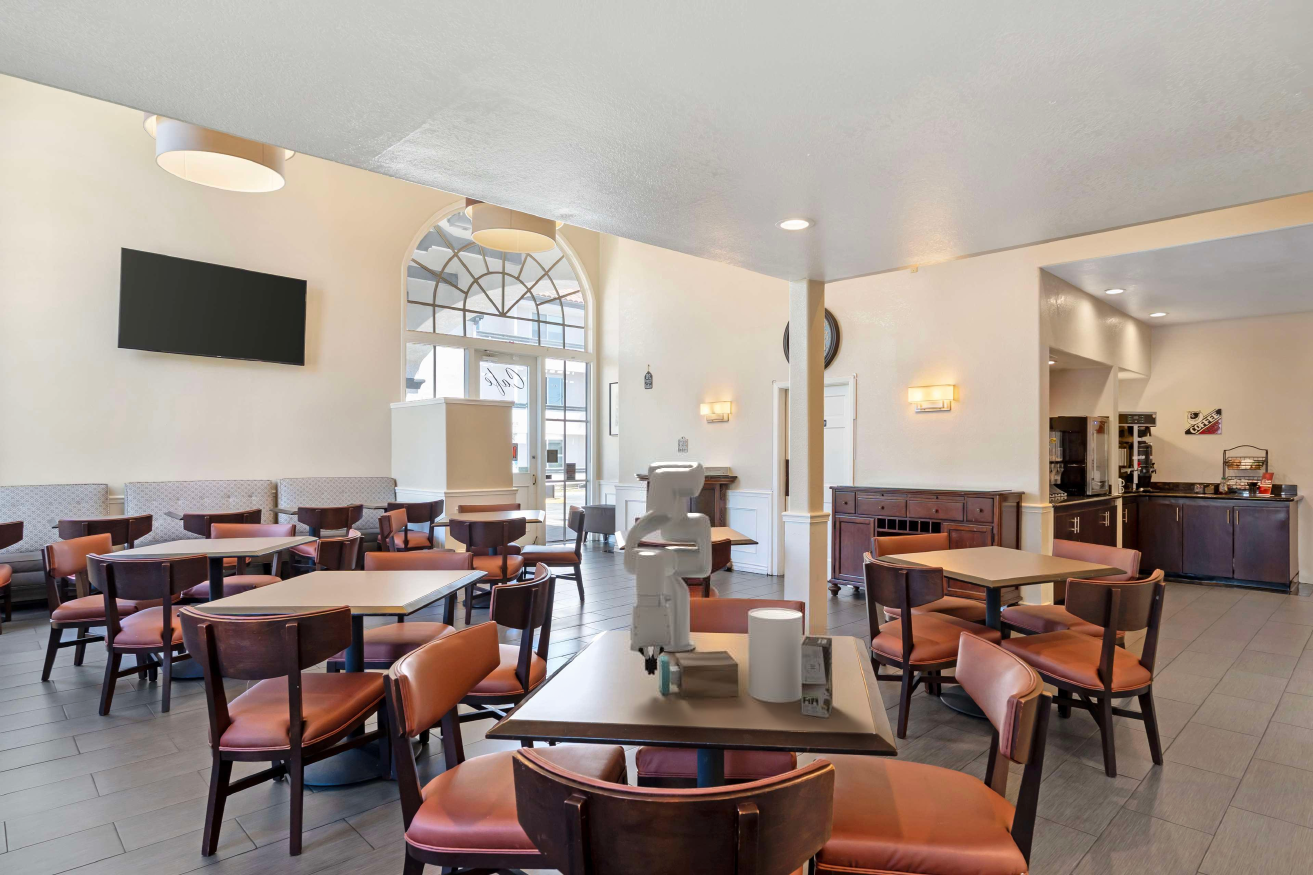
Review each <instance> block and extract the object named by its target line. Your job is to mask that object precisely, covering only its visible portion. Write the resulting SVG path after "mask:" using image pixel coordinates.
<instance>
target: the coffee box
mask: <svg viewBox="0 0 1313 875" xmlns="http://www.w3.org/2000/svg"><path fill="white" fill-rule="evenodd" d="M803 639H804V640H803V643H802V644H801V680H802V698H801V715H805V716H813V717H819V718H827V719H828V718H829V717H830V714H831V711H832V709H833V705H834V704H833V702H834V701H833V700H834V698H833V697H834V695H833V694H834V692H833V638H832V637H823V636H822V637H821V636H807V635H806V636H805V637H804V638H803Z"/></svg>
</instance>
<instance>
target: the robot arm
mask: <svg viewBox="0 0 1313 875" xmlns="http://www.w3.org/2000/svg"><path fill="white" fill-rule="evenodd" d="M705 474H706V472H705V468H704V466H703V464H701V463H700V462H697V461H661V462H654V463H651V464H650V465H649V467H648V468H647V476H648V480H649V485H648V494H647V502H646V511H645V514H644V515H642V516H641V517H640V518H639V519H638V520H637V521H636V522H635V523H634V524H633V525H632V527H631V528H630V530H629V531H628V533H627V535H626V539H625V545H624V546H625V547H624V552H623V568H624V571H625V572H626V573H627V574H628V575H631V576H635V604H633V606H632V609H631V610H632V611H631V617H630V618H631V619H630V646H629V650H630V651H633V652H637V653H639V654H640V655H642V657H644V671H645V672H646V673H647V674H648V676H651V675H652V676H654V675H655V676H656V671H658V659H659V656H660V655H661V654H662V653H663V652H671V653H672V652H673V653H683V652H687V651H691V650H693V649H694V648H695V644H696V643H695V642H694V641H693V640H691V637H690V635H691V634H690V633H691V629H690V627H691V626H690V620H691V619H690V618H691V617H690V616H691V615H690V606H691V604H690V601H691V600H690V598H691V597H690V595H691V594H690V590H689V587H688V585H687V584H686V582H685V581H684V579H683V578H706V577H707V578H708V577H709V576H710V575H711V572H712V567H713V566H712V565H713V556H712V552H713V550H712V527H711V521H710V518H709V517H708V515H706V514H705V513H702V512H701V513H699V512H695V513H694V512H693V513H692V512H688V509H687V498H695V497H698V496H699V494H700V493H701V490H702V489H703V487H704V484H705V479H706V478H705V477H706V475H705ZM659 530H660V536H661V539H662V540H663V542H666V543H669V544H690V545H691V544H694V545H695V546H679V545H677V546H674V545H673V546H672V545H671V546H665V547H659V546H658V547H654V546H638V544H639V542H641V540H642V539H643V538H645V537H646V536H648V535H649V534H652V533H653V532H654V533H655V532H657V531H659ZM649 647H650V648H651V647H653V648H652V653H651V655H650V653H649V652H650V651H649Z"/></svg>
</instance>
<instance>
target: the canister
mask: <svg viewBox="0 0 1313 875" xmlns="http://www.w3.org/2000/svg"><path fill="white" fill-rule="evenodd" d="M747 613H748V614H747V618H748V619H747V622H748V624H747V625H748V626H747V629H748V630H747V633H748V634H747V636H748V642H747V643H748V646H747V647H748V694H749V695H750V696H751V697H752V698H755V699H757V700H760V701H763V702H770V703H790V702H795V701H798V700H802V680H801V644H802V643H803V641H804V640H803V639H804V638H803V635H804V634H803V613H802V612H800V611H798V610H795V609H792V608H791V609H789V608H784V607H782V608H781V607H759V608H754V609H750V610H749V611H748V612H747Z"/></svg>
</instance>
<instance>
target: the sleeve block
mask: <svg viewBox="0 0 1313 875" xmlns="http://www.w3.org/2000/svg"><path fill="white" fill-rule="evenodd" d="M674 666H679V667H680V685H675V687H676V686H677V687H676V689H677V688H678V689H677V691H678V690H679V691H678V692H679V694H680V696H681V698H682V699H683V700H685V699H684V698H696V699H709V698H710V697H715V698H728V697H729V698H731V696H735V697H739V663H738V662H737V661H736V660H735V659H734V658H733V656H732V655H731V654H730V653H729V652H728V651H727V650H721V651H720V650H718V651H717V650H716V651H695V652H694V651H693V652H692V651H691V652H674ZM706 697H707V698H706Z"/></svg>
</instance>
